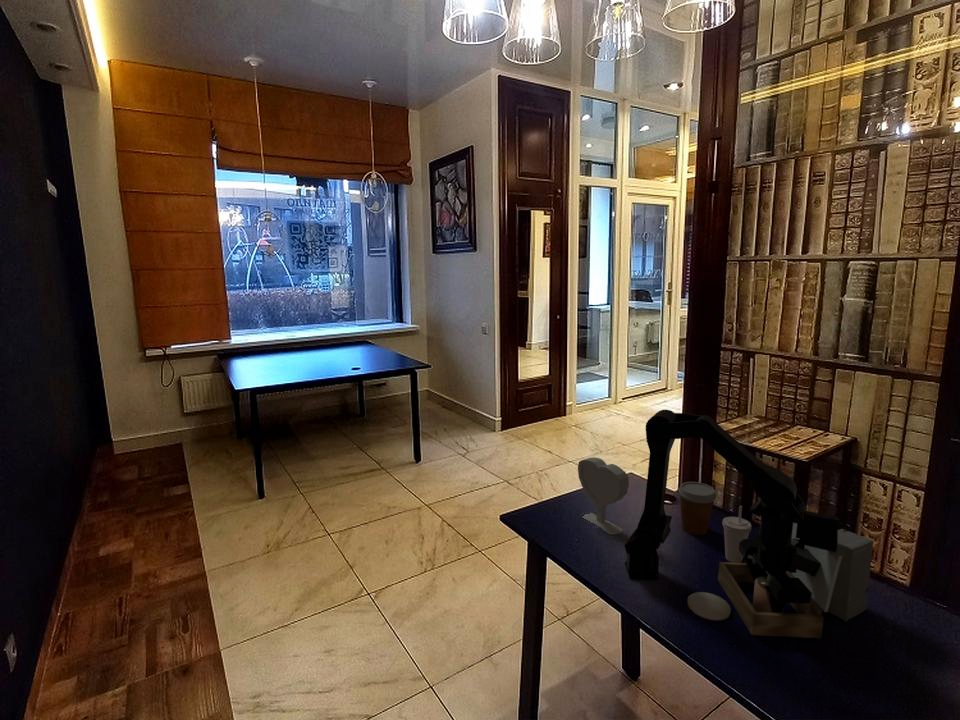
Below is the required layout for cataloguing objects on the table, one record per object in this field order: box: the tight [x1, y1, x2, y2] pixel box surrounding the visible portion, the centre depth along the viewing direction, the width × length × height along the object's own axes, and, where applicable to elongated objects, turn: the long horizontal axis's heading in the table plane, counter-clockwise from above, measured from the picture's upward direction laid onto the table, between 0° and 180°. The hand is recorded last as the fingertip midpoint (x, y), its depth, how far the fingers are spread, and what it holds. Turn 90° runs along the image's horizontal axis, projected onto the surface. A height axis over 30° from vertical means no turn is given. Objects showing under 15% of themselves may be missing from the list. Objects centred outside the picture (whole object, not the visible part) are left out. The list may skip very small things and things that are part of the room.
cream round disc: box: [686, 591, 732, 621], centre depth 110 cm, size 8×8×1 cm
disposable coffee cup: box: [678, 481, 717, 536], centre depth 140 cm, size 10×10×12 cm
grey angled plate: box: [791, 523, 843, 613], centre depth 107 cm, size 12×17×1 cm
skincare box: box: [815, 528, 874, 622], centre depth 108 cm, size 8×7×16 cm
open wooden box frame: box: [717, 561, 825, 639], centre depth 108 cm, size 16×18×12 cm
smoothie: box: [721, 505, 752, 563], centre depth 126 cm, size 6×6×14 cm
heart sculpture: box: [577, 457, 630, 535], centre depth 144 cm, size 16×5×18 cm, turn 34°
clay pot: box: [752, 575, 785, 613], centre depth 107 cm, size 6×6×9 cm
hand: (768, 605), depth 107 cm, fingers closed on clay pot, 6 cm apart
